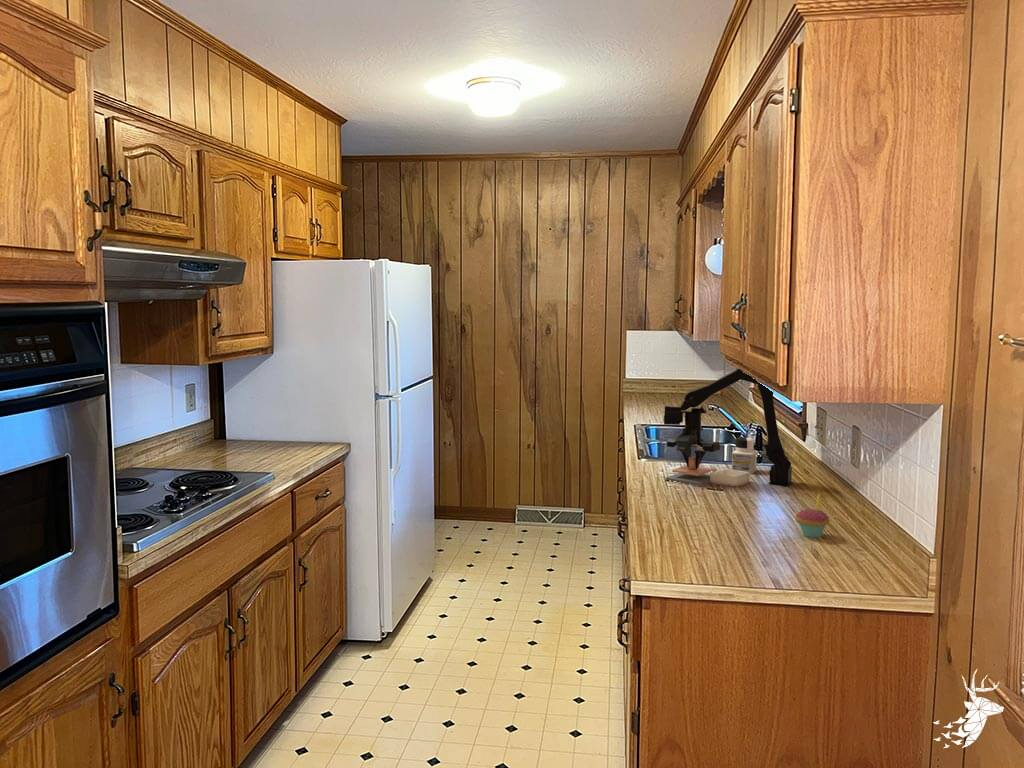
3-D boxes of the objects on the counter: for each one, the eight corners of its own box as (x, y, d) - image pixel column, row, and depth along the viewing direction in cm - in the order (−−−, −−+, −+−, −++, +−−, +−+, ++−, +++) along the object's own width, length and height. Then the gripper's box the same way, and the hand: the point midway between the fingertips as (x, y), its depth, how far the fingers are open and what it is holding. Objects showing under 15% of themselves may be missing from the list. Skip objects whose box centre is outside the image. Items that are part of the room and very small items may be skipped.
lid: (713, 470, 276) (713, 456, 275) (698, 475, 268) (698, 461, 268) (687, 467, 283) (687, 453, 282) (672, 471, 275) (672, 457, 275)
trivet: (719, 479, 276) (719, 476, 276) (700, 486, 266) (700, 483, 266) (685, 474, 286) (685, 470, 286) (665, 480, 275) (665, 477, 275)
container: (731, 472, 287) (732, 438, 286) (735, 468, 294) (736, 435, 293) (752, 474, 284) (753, 439, 282) (756, 470, 291) (757, 436, 289)
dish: (749, 481, 272) (749, 472, 272) (736, 486, 265) (736, 477, 264) (723, 477, 279) (723, 468, 278) (710, 482, 271) (710, 473, 271)
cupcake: (817, 529, 213) (818, 487, 212) (835, 538, 205) (836, 494, 204) (789, 531, 212) (790, 489, 211) (806, 540, 203) (807, 496, 202)
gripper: (658, 425, 274) (658, 468, 276) (705, 430, 262) (705, 475, 263) (674, 421, 282) (674, 463, 284) (720, 426, 270) (720, 469, 271)
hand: (692, 467), depth 275 cm, fingers closed on lid, 3 cm apart
